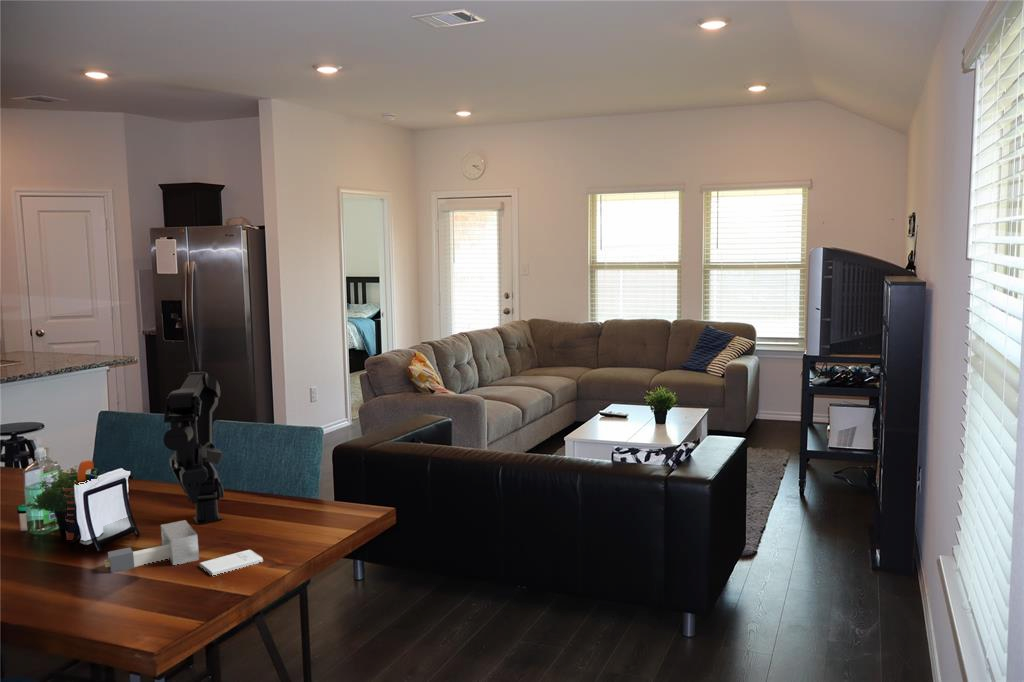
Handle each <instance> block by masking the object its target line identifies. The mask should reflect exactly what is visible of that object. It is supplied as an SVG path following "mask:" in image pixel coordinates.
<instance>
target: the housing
mask: <svg viewBox="0 0 1024 682" xmlns="http://www.w3.org/2000/svg"><path fill="white" fill-rule="evenodd" d="M160 532H161V533H160V534H161V546H162V545H167V544H169V551H170V559H169V561H170V563H171V564H172V566H173V565H175V566H178V565H177V564H179V565H183V564H188V563H191V562H196V561H199V560H200V553H199V539H198V534H197V532H196V531H195V530H194V529H193V527H192V526H191V525H190V524H189V522H188V521H187V520H185V519H184V520H179V521H178V520H177V521H173V522H169V523H164V524H163V523H162V524H160ZM187 562H188V563H187Z"/></svg>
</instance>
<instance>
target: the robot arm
mask: <svg viewBox="0 0 1024 682" xmlns="http://www.w3.org/2000/svg"><path fill="white" fill-rule="evenodd" d="M186 374H187V375H186V380H184V382H183V384H182V386H181V387H180V388H179V389H176V390H172V391H171V392H170V393H169V394H168V397H166V398H165V405H164V417H163V418H164V419H163V423H166V424H168V423H170V428H169V429H168V430H166V432H165V433H164V435H163V444H164V446H165V447H166V448H167V449H168V450H171V451H174V453H172V455H171V456H170V457H169V458H168V459H169V460H168V461H169V466H170V468H171V471H172V472H173V474H174V476H175V478H176V479H177V481H178V483H179V485H180V487H181V489H182V491H183V492H184V495H187V500H188V502H190V503H191V504H192V505H194V504H195V516H192V520H193V521H194V522H195V523H196V524H197V525H203V524H207V523H214V522H217V520H218V521H222V520H223V518H222V517H221V515H220V514H219V510H218V509H219V508H218V500H221V499H223V498H225V491H224V487H223V483H222V481H221V479H220V478H219V473H218V471H217V470H216V468H215V466H214V464H215V465H220V464H221V461H222V458H223V456H224V455H223V454H224V452H223V451H222V449H220V448H219V449H218V448H217V447H216V446H215V444H214V443H213V413H214V412H215V409H216V408H217V407H218V405H219V398H220V397H221V387H220V384H219V382H218V379H215V377H211V376H209V374H208V373H207V372H205V371H192V372H189V373H186ZM221 519H222V520H221Z"/></svg>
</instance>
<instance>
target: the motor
mask: <svg viewBox="0 0 1024 682" xmlns="http://www.w3.org/2000/svg"><path fill="white" fill-rule="evenodd" d="M94 466H95V465H94V460H93V461H92V460H83V461H81V462H80V463H79V465H78V469H77V474H75V475H74V474H73V475H70V476H69V475H68V476H66V477H63V478H61V479H62V480H63V479H65V478H74V479H75V480H76V482H75V484H76V485H79V484H78V483H79V482H85V481H86V482H85V483H87V482H88V481H87V480H89V481H91V479H97V478H98V479H99V476H98V475H97V474H93V473H87V471H89V470H93V469H94ZM94 470H95V469H94ZM80 484H84V483H80ZM73 485H74V484H73ZM61 488H62V489H63V490H62V491H63V492H64V491H74V488H64V487H62V486H61ZM64 496H65V497H68V498H71V497H74V495H67V494H64ZM64 496H63V497H64ZM65 497H64V498H65ZM67 504H75V501H67ZM67 510H75V507H67ZM73 515H74V514H70V513H69V514H68V513H67V516H73ZM67 516H66V517H67ZM65 521H66V522H70V523H75V522H74V520H69V519H66V518H65ZM65 535H66V541H68V540H73V538H74V533H69V532H67V531H66V530H65Z"/></svg>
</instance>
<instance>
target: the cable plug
mask: <svg viewBox="0 0 1024 682" xmlns="http://www.w3.org/2000/svg"><path fill="white" fill-rule="evenodd" d="M169 558H170V551H169V544H167V545H162V544H161V545H157V546H153V547H148V548H145V549H144V548H143V549H139V550H135V551H133V549H132V548H131V547H130V546H129V547H126V548H121V549H115V550H110V551H108V552H107V559H103V562H104V565H105V568H108V569H109V571H110V573H111V574H113V573H114V572H115V573H120V572H123V571H127V570H132V569H135V568H136V567H140V566H145V565H144V564H146V565H149V564H148V563H150V564H153V563H152V562H154V563H157V562H156V561H159V562H162V561H161V560H163V561H166V560H165V559H168V560H170V559H169ZM115 573H114V574H115Z"/></svg>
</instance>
